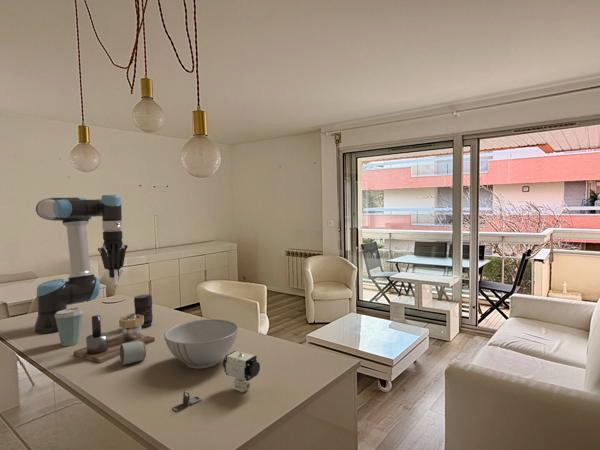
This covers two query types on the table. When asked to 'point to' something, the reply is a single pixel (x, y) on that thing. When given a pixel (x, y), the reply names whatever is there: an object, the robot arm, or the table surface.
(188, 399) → the strap clip
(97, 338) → the nail polish bottle
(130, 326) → the ring
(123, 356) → the ceramic mug
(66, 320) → the disposable coffee cup
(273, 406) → the table surface
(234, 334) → the decorative bowl
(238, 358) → the pneumatic valve
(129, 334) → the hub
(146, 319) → the camera lens
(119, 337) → the board
